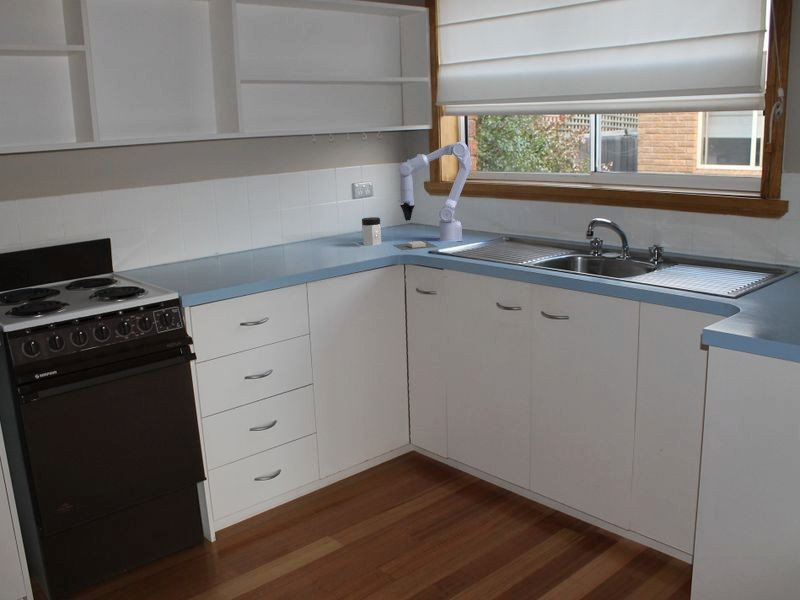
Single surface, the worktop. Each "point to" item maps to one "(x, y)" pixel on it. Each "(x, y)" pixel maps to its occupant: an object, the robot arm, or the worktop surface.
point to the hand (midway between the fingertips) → (408, 220)
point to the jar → (371, 231)
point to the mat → (406, 247)
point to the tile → (416, 244)
